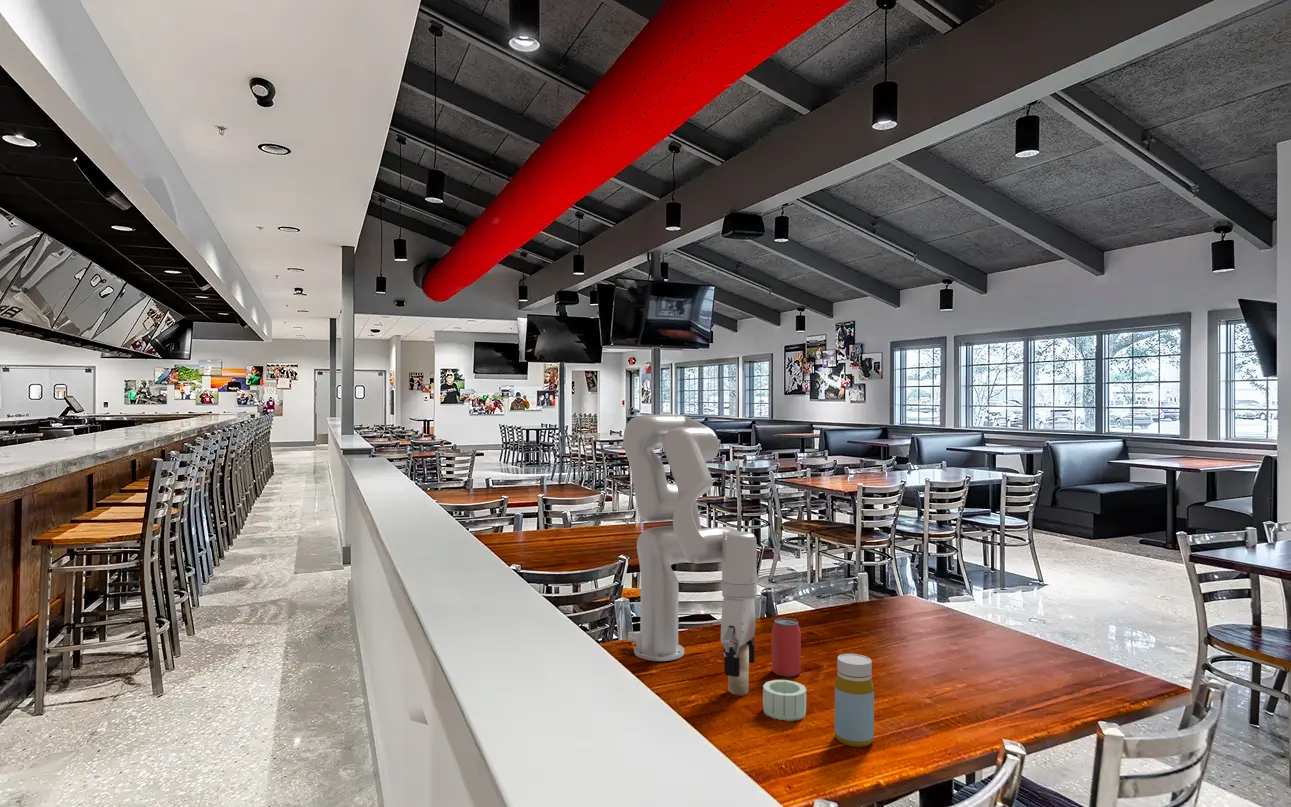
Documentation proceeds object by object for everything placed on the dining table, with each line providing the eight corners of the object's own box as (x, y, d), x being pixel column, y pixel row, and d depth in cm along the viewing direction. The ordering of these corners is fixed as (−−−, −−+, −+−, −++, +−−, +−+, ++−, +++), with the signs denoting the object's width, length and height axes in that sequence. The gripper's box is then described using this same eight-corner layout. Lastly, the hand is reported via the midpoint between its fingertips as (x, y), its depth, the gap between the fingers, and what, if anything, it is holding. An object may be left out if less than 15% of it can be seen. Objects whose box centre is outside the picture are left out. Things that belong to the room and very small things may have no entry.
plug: (725, 693, 158) (725, 646, 158) (732, 686, 162) (732, 641, 162) (744, 696, 156) (745, 650, 156) (751, 689, 160) (751, 644, 160)
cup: (758, 715, 146) (758, 690, 146) (770, 701, 154) (770, 677, 154) (799, 724, 142) (799, 698, 142) (810, 708, 150) (810, 684, 150)
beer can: (800, 679, 166) (800, 626, 167) (771, 676, 168) (771, 624, 168) (800, 669, 173) (800, 618, 173) (772, 666, 174) (772, 616, 174)
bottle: (829, 732, 139) (829, 653, 139) (865, 731, 140) (865, 652, 140) (842, 749, 132) (842, 666, 132) (879, 747, 133) (880, 665, 133)
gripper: (736, 580, 168) (737, 654, 168) (708, 596, 153) (708, 678, 153) (768, 583, 165) (768, 659, 165) (742, 600, 150) (743, 684, 149)
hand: (739, 668), depth 159 cm, fingers open, 9 cm apart
